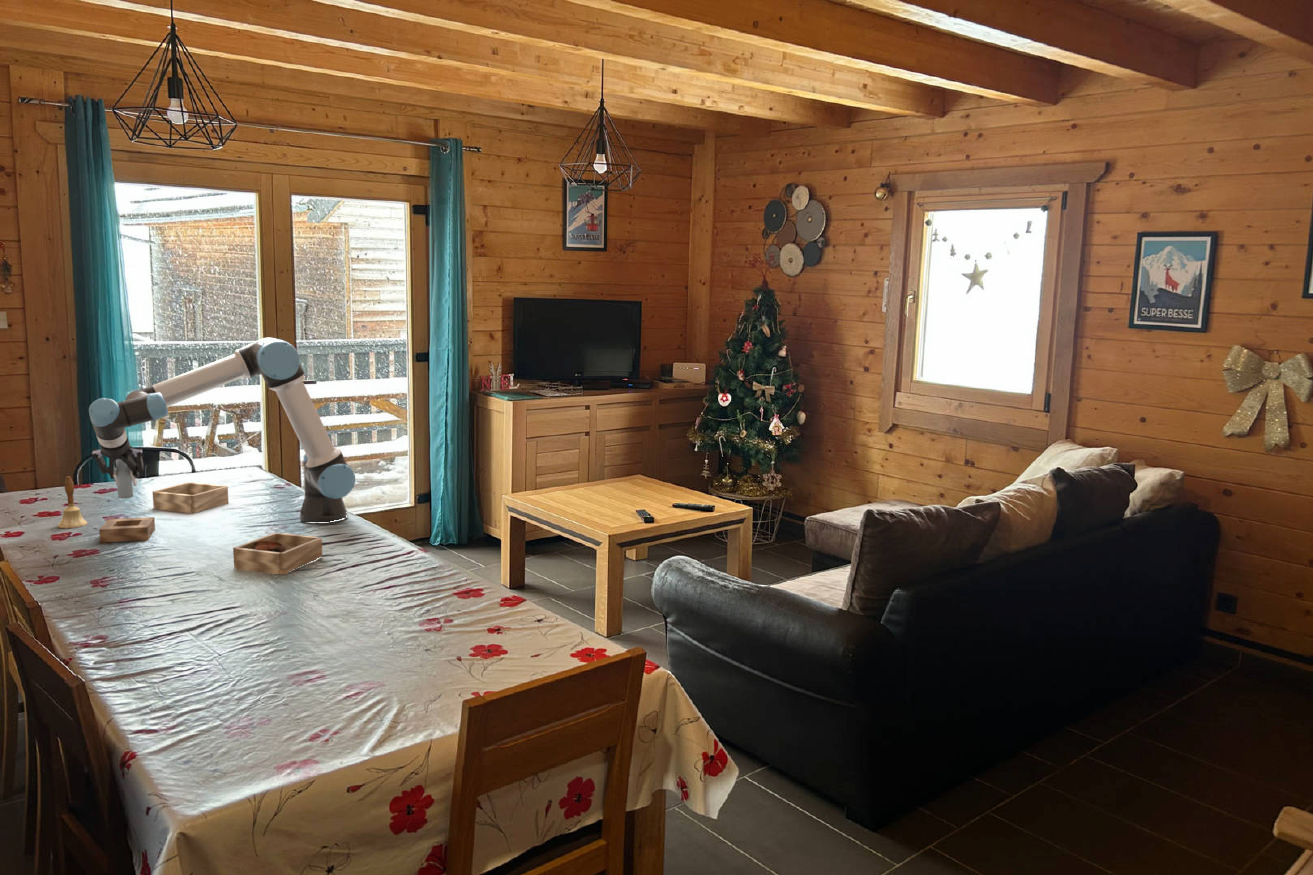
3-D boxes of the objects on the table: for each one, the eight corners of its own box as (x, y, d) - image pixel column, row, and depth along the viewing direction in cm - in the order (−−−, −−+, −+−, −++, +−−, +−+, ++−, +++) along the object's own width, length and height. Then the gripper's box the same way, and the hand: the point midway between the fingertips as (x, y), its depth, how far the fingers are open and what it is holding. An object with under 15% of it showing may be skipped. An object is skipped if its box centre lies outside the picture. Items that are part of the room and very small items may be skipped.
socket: (155, 529, 308) (154, 517, 307) (148, 539, 295) (147, 527, 295) (109, 531, 303) (108, 519, 303) (100, 542, 291) (99, 529, 291)
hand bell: (77, 528, 306) (74, 479, 304) (51, 527, 306) (47, 478, 304) (93, 522, 314) (89, 474, 312) (68, 521, 314) (64, 473, 312)
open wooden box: (323, 557, 282) (323, 537, 281) (282, 575, 264) (282, 554, 263) (275, 551, 286) (275, 532, 285) (232, 569, 269) (231, 548, 268)
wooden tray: (229, 502, 345) (228, 486, 344) (193, 513, 329) (193, 496, 328) (189, 498, 350) (188, 482, 349) (152, 508, 334) (151, 491, 333)
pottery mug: (240, 570, 269) (243, 542, 272) (265, 577, 277) (268, 549, 280) (274, 565, 265) (276, 535, 268) (298, 571, 273) (301, 543, 276)
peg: (136, 496, 299) (133, 458, 297) (125, 498, 295) (123, 460, 293) (125, 495, 300) (123, 457, 298) (115, 497, 296) (112, 459, 294)
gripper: (78, 450, 278) (95, 494, 296) (144, 448, 283) (156, 491, 301) (81, 429, 282) (97, 473, 300) (146, 427, 287) (158, 471, 305)
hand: (127, 482), depth 300 cm, fingers closed on peg, 4 cm apart
